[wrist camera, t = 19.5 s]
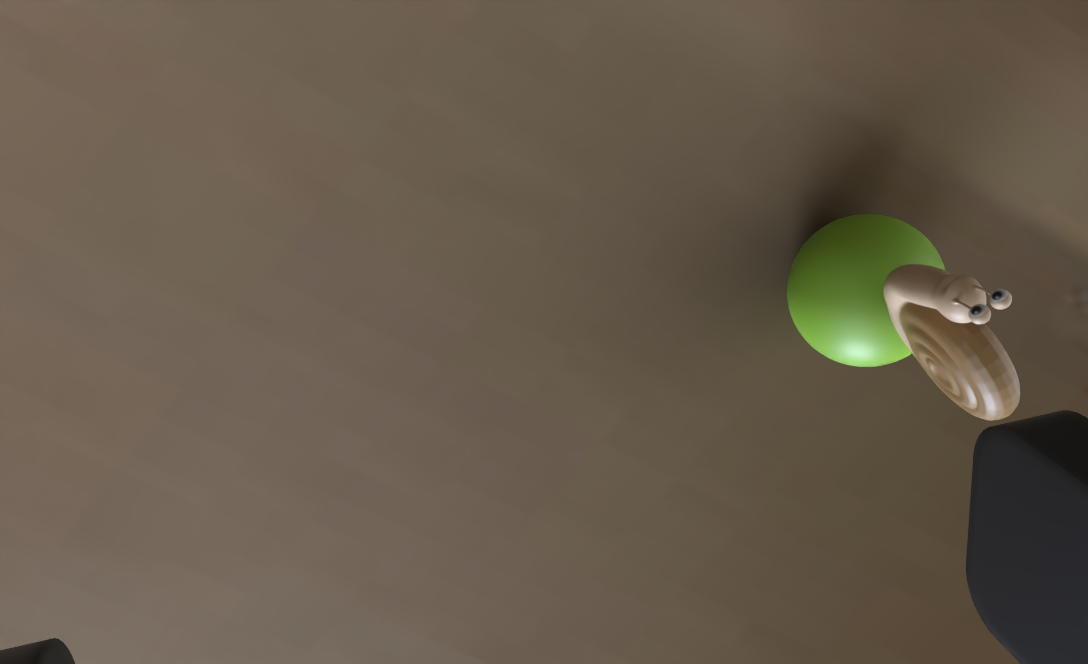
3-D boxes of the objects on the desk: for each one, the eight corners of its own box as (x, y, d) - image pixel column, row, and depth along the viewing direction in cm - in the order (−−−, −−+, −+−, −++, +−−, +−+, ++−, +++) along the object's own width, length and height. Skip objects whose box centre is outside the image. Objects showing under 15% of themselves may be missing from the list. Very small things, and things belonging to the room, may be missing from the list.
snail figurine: (846, 146, 36) (1080, 239, 26) (914, 277, 39) (1152, 411, 28) (725, 235, 37) (905, 364, 26) (801, 359, 39) (994, 523, 29)
